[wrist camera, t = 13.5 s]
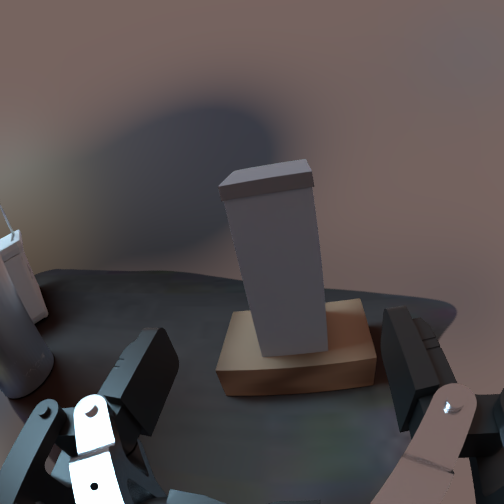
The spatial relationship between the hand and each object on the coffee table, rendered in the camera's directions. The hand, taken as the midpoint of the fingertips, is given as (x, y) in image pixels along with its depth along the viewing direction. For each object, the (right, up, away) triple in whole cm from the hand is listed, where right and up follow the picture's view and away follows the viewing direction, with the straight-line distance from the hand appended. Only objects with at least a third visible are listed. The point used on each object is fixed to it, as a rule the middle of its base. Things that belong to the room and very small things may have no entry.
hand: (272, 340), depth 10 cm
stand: (+3, -6, +12) cm, 14 cm away
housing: (+2, -3, +11) cm, 12 cm away
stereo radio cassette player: (-41, -7, +31) cm, 52 cm away
